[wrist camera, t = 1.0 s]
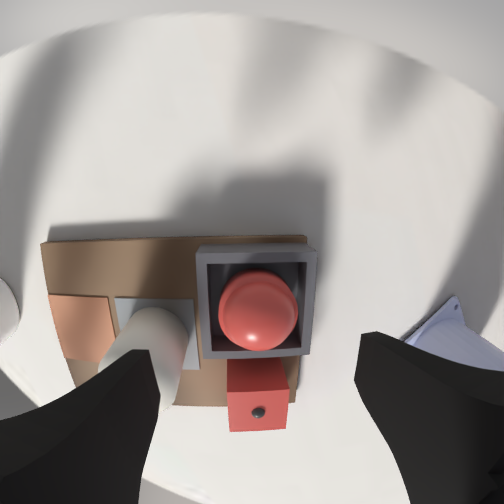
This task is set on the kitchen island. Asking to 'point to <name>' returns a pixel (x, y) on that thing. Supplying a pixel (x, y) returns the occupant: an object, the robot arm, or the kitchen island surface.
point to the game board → (138, 303)
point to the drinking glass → (7, 312)
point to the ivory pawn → (154, 347)
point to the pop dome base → (244, 257)
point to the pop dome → (257, 309)
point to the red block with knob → (257, 394)
